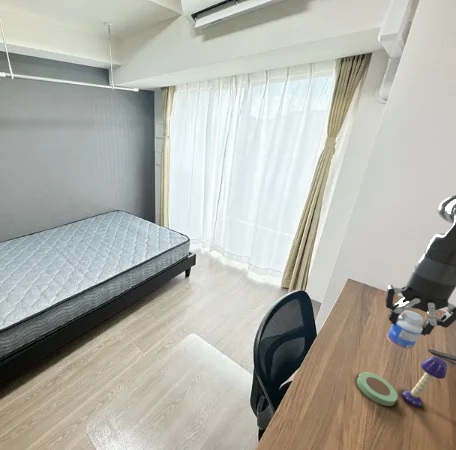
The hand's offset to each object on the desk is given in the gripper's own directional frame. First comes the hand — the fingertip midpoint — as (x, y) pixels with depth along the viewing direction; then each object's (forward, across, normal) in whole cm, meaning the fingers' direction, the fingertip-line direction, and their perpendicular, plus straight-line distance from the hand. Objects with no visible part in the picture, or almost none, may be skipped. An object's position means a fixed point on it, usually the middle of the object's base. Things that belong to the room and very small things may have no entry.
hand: (407, 327), depth 66 cm
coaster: (+24, 0, -1) cm, 24 cm away
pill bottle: (+6, 0, 0) cm, 6 cm away
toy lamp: (+24, +9, +2) cm, 26 cm away
